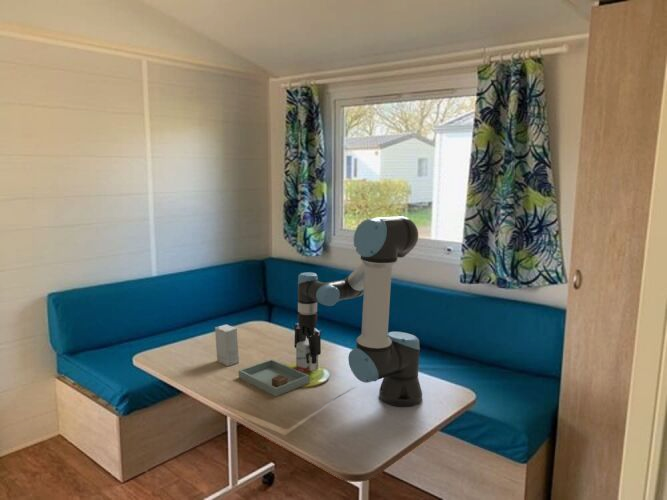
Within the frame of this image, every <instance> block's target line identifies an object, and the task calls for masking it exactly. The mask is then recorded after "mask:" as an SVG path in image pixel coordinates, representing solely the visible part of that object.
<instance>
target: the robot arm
mask: <svg viewBox="0 0 667 500" xmlns="http://www.w3.org/2000/svg"><path fill="white" fill-rule="evenodd" d="M418 240H419V231H418V227H417V226H416V224H415V222H413V221H412V220H411V219H409V218H408V217H406V216H400V215H399V216H389V217H388V216H386V217H383V216H382V217H371V218H368V219H364V220H362V221H361V222H360V223H359V224H358V226H357V227H356V228H355V231H354V235H353V246H354V247H355V252H356V253H357V254H358V255H360V261H361V263H360V264H359V265H358V267H356V268H355V269H354V270H353V271H352V272H351V273H350V274H349V275H348V276H347V277H346V278H344V279H340V280H334V281H329V282H328V281H327V282H322V281H319V278H318V275H317V273H315V272H311V271H309V272H301V273H300V274H298V277H297V278H298V280H297V281H298V282H297V300H298V301H297V312H298V313H297V322H298V323H295V324H293V328H294V348H295V349H296V344H297V343H299V342H301V341H304V340H306V339H308V341H309V347H310V352H311V355H310V356H309V371H310V372H311V371H316V370H317V369H316V362H317V361H316V359H317V355H318V356H320V355H321V353H322V349H321V348H322V347H321V346H322V345H321V342H322V341H321V338H322V337H321V336H322V330H318V329H317V325H316V324H317V322H318V313H317V312H318V303H319V304H321V305H323V306H328V307H331V306H335V305H336V303H338V302H340V301H343V300H348V299H349V300H351V299H356V298H359V297H361V296H363V300H362V301H363V302H362V315H361V316H362V320H361V322H362V323H361V333H360V335H359V336H358V337H357V338H356V347H355V348H352V349H351V350H350V351H349V353H348V364H349V368H350V370H351V372H352V374H353V375H354V376H355V378H356V379H357V380H359V382H361V383H364V384H365V383H366V384H367V383H372V382H377V381H378V380H381V379H382V381H381V384H380V387H379V388H378V389H379V390H378V397H379V399H380V400H381V401H382V402H383V403H385V404H388V405H390V406H393V407H401V408H402V407H403V408H406V407H413V405H414V406H417V405H419V404H420V403H421V402H422V401H423V390H422V387H421V384H420V380H419V367H420V366H419V365H420V350H421V348H420V339H419V338H418V337H417V336H416V335H414V334H410V333H408V332H403V331H389V320H390V319H389V317H390V303H391V302H390V301H391V287H392V269H393V266H394V265H395V264H396V263H397V262H398V259H399V258H400V259H401V258H405V257H406V256H407V255H408V254H409V253H410V252H411V251H412V250H414V248H415V247H416V245H417V242H418ZM309 371H308V372H309ZM418 403H419V404H418ZM416 404H417V405H416Z"/></svg>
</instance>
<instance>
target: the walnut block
mask: <svg viewBox="0 0 667 500" xmlns="http://www.w3.org/2000/svg"><path fill="white" fill-rule="evenodd" d="M287 383H288V378H287V377H284V376H281V375H278V376H276V377H274V378H272V386H274V387H279V386H282V385H284V384H287Z"/></svg>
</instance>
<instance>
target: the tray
mask: <svg viewBox="0 0 667 500" xmlns="http://www.w3.org/2000/svg"><path fill="white" fill-rule="evenodd" d="M278 375H281V376H284V377H287V378H288V383H287V384H284V385H282V386H279V387H274V386H272V378H274V377H276V376H278ZM238 378H239V379H241V380H243V381H245V382H246V383H249V384H250V385H252V386H254V387H256V388H258V389H260V390H262V391H264V392H266V393H268V394H269V395H272V396H273V397H279V396H281V395H284V394H286V393H288V392H291V391H294V390H296V389H298V388H301V387H303V386H305V385H309V383H311V381H310V379H311V377H310V374H308V373H306V372H302V371H299V370H296V368H293V367H292V366H288V365H287V364H284V363H282V362H280V361H277V360H276V359H273V358H271V359H267V360H265V361H262V362H259V363H256V364H253V365H251V366H247V367H245V368H242V369H239V370H238Z"/></svg>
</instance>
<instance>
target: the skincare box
mask: <svg viewBox="0 0 667 500" xmlns="http://www.w3.org/2000/svg"><path fill="white" fill-rule="evenodd" d="M214 334H215V349H216V350H215V351H216V361H217V362H218V363H221V364H223V365H224V366H226V367H228V366H231V365H236V364H239V363H240V361H239V345H238V344H239V343H238V340H239V339H238V329H237V327H234V326H232V325H229V324H227V323H226V324H223V325H219V326H215V327H214Z"/></svg>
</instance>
